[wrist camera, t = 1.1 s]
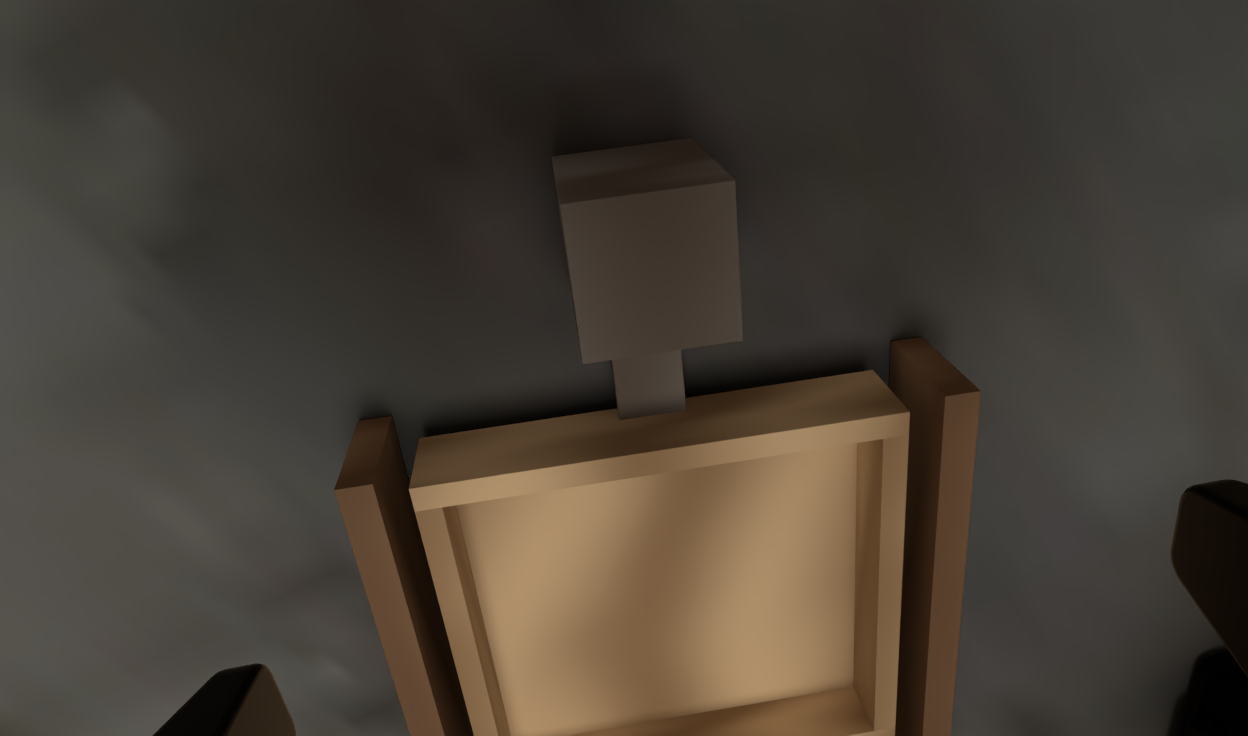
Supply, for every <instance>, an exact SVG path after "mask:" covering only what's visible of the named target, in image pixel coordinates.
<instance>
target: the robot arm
mask: <svg viewBox="0 0 1248 736" xmlns="http://www.w3.org/2000/svg"><path fill="white" fill-rule="evenodd" d="M1171 561H1172V564H1173V568H1174V570H1175V572H1176V575H1177V576H1178V578H1179V580H1180V581H1181V583H1182V584H1183V586H1184V587H1185V588H1186V590H1187V591H1188V593H1189V594H1190V596H1191V597H1192V599H1193V600H1194V601H1195V603H1196V604H1197V606H1198V607H1199V609H1200V610H1201V611H1202V613H1203V614H1204V616H1205V617H1206V619H1207V620H1208V622H1209V623H1210V624H1211V626H1212V627H1213V629H1214V630H1215V632H1216V633H1217V634H1218V636H1219V637H1220V639H1221V640H1222V642H1223V643H1224V644H1225V646H1226V647H1227V649H1228V650H1229V652H1228V653H1222V654H1216V655H1213V656H1210V657H1208V658H1206V659H1205V660H1203V661H1202V662H1201V663H1200V665H1199V667H1198V669H1197V673H1196V677H1195V681H1194V684H1193V688H1192V692H1191V696H1190V700H1189V704H1188V708H1187V712H1186V715H1185V719H1184V723H1183V727H1182V731H1181V735H1180V736H1248V484H1246V483H1243V482H1240V481H1236V480H1219V481H1214V482H1208V483H1203V484H1198V485H1194V486H1191V487H1189V488H1187V489H1186V491H1185V492H1184V493H1183V495H1182V496H1181V499H1180V504H1179V509H1178V515H1177V520H1176V525H1175V531H1174V536H1173V541H1172V547H1171ZM153 736H296V731H295V726H294V723H293V720H292V718H291V716H290V713H289V711H288V709H287V707H286V704H285V702H284V700H283V698H282V695H281V693H280V691H279V689H278V686H277V684H276V682H275V680H274V677H273V675H272V673H271V672H270V670H269V669H268V668H267V667H266V666H265V665H263V664H251V665H246V666H240V667H235V668H230V669H225V670H222V671H219V672H218V673H216V674H215V675H214V676H213V677H211V678H210V679H209V680H208V681H207V682H206V683H205V684H204V685H203V686H202V687H201V688H200V689H199V690H198V691H197V692H196V693H195V694H194V695H193V696H192V697H191V698H190V699H189V700H188V701H187V702H186V703H185V704H184V705H183V706H182V707H181V708H180V709H179V710H178V711H177V712H176V713H175V714H174V715H173V716H172V717H171V718H170V719H169V720H168V721H167V722H166V723H165V724H164V725H163V726H162V727H161V728H160V729H159V730H158V731H157V732H156V733H155V734H154V735H153Z"/></svg>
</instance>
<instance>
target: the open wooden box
mask: <svg viewBox="0 0 1248 736" xmlns="http://www.w3.org/2000/svg"><path fill="white" fill-rule="evenodd" d="M889 389H890V390H891V391H892V392H893V393H894V394H895V395H896V397H897V398H898V399H899V400H900V401H901V402H902V403H903V405H904V406H905V407H906V408H907V409H908V410H909V411H910V423H909V445H908V466H907V487H906V509H905V530H904V551H903V573H902V594H901V616H900V637H899V658H898V680H897V701H896V723H895V736H951V725H952V714H953V702H954V691H955V680H956V668H957V657H958V646H959V634H960V623H961V611H962V600H963V589H964V577H965V566H966V555H967V543H968V532H969V521H970V509H971V498H972V486H973V475H974V464H975V452H976V441H977V430H978V418H979V407H980V395H981V391H980V390H979V389H978V388H977V387H976V386H975V385H974V384H973V383H972V382H970V381H969V380H968V379H967V378H966V377H965V376H964V375H963V374H962V373H961V372H960V371H958V370H957V369H956V368H955V367H954V366H953V365H952V364H951V363H950V362H949V361H947V360H946V359H945V358H944V357H943V356H942V355H941V354H940V353H939V352H938V351H937V350H935V349H934V348H933V347H932V346H931V345H930V344H929V343H928V342H927V341H926V340H924V339H923V338H922V337H918V338H911V339H904V340H898V341H891V344H890V374H889ZM409 486H410V483H409V479H408V476H407V472H406V468H405V464H404V460H403V457H402V453H401V449H400V445H399V441H398V438H397V434H396V430H395V426H394V422H393V419H392V416H388V417H381V418H374V419H367V420H361V421H358V424H357V426H356V429H355V432H354V435H353V438H352V441H351V443H350V446H349V449H348V452H347V455H346V458H345V461H344V463H343V466H342V469H341V472H340V475H339V478H338V480H337V483H336V486H335V489H334V491H335V495H336V498H337V501H338V504H339V508H340V511H341V514H342V517H343V520H344V524H345V527H346V530H347V533H348V536H349V540H350V543H351V546H352V549H353V553H354V556H355V559H356V562H357V565H358V569H359V572H360V575H361V578H362V581H363V585H364V588H365V591H366V594H367V597H368V601H369V604H370V607H371V610H372V614H373V617H374V620H375V623H376V626H377V630H378V633H379V636H380V639H381V642H382V646H383V649H384V652H385V655H386V658H387V662H388V665H389V668H390V671H391V675H392V678H393V681H394V684H395V687H396V691H397V694H398V697H399V700H400V703H401V707H402V710H403V713H404V716H405V719H406V723H407V726H408V729H409V732H410V736H474V734H473V730H472V726H471V722H470V719H469V715H468V711H467V707H466V704H465V700H464V696H463V692H462V688H461V685H460V681H459V677H458V673H457V670H456V666H455V662H454V658H453V654H452V651H451V647H450V643H449V639H448V636H447V632H446V628H445V624H444V620H443V617H442V613H441V609H440V605H439V602H438V598H437V594H436V590H435V586H434V583H433V579H432V575H431V571H430V567H429V564H428V560H427V556H426V552H425V549H424V545H423V541H422V537H421V533H420V530H419V526H418V522H417V518H416V515H415V511H414V507H413V503H412V499H411V496H410V492H409Z"/></svg>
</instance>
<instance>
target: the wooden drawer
mask: <svg viewBox="0 0 1248 736" xmlns="http://www.w3.org/2000/svg"><path fill="white" fill-rule="evenodd" d="M551 157H552V164H553V171H554V178H555V185H556V192H557V199H558V205H559V212H560V219H561V226H562V233H563V240H564V247H565V254H566V261H567V267H568V274H569V281H570V288H571V294H572V300H573V307H574V313H575V319H576V325H577V331H578V337H579V343H580V349H581V355H582V361H583V364H588V363H595V362H602V361H609V360H611V365H612V373H613V380H614V388H615V396H616V404H617V408H616V409H610V410H603V411H596V412H590V413H583V414H576V415H570V416H563V417H557V418H550V419H543V420H537V421H530V422H523V423H517V424H510V425H503V426H497V427H490V428H484V429H477V430H470V431H464V432H457V433H450V434H444V435H437V436H430V437H424V438H419V442H418V447H417V452H416V457H415V462H414V466H413V471H412V476H411V481H410V486H409V492H410V496H411V499H412V503H413V507H414V511H415V515H416V518H417V522H418V526H419V530H420V533H421V537H422V541H423V545H424V549H425V552H426V556H427V560H428V564H429V567H430V571H431V575H432V579H433V583H434V586H435V590H436V594H437V598H438V602H439V605H440V609H441V613H442V617H443V620H444V624H445V628H446V632H447V636H448V639H449V643H450V647H451V651H452V654H453V658H454V662H455V666H456V670H457V673H458V677H459V681H460V685H461V688H462V692H463V696H464V700H465V704H466V707H467V711H468V715H469V719H470V722H471V726H472V730H473V734H474V736H895V723H896V701H897V680H898V658H899V637H900V616H901V594H902V573H903V551H904V530H905V509H906V487H907V466H908V445H909V423H910V411H909V410H908V409H907V408H906V407H905V406H904V405H903V403H902V402H901V401H900V400H899V399H898V398H897V397H896V395H895V394H894V393H893V392H892V391H891V390H890V389H889V388H888V386H887V385H886V384H885V383H884V382H883V381H882V380H881V378H880V377H879V376H878V375H877V374H876V373H875V372H874V371H873V370H868V371H862V372H855V373H848V374H842V375H835V376H829V377H822V378H815V379H809V380H802V381H795V382H789V383H782V384H775V385H769V386H762V387H756V388H749V389H742V390H736V391H729V392H722V393H716V394H709V395H702V396H696V397H689V398H685V390H684V378H683V367H682V355H681V350H683V349H690V348H697V347H704V346H710V345H717V344H724V343H731V342H738V341H743V325H742V305H741V285H740V265H739V246H738V226H737V206H736V186H735V180H734V179H733V178H732V177H731V176H730V175H729V174H728V173H727V172H726V171H725V170H724V169H723V168H722V167H721V166H720V165H719V164H718V163H717V162H716V161H715V160H714V159H713V158H712V157H711V156H710V155H709V154H708V153H707V152H706V151H705V150H704V149H703V148H702V147H701V146H699V145H698V144H697V143H696V142H695V141H694V140H693V139H692V138H686V139H679V140H671V141H664V142H656V143H649V144H641V145H634V146H626V147H619V148H611V149H604V150H596V151H589V152H581V153H574V154H566V155H559V156H551Z"/></svg>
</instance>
